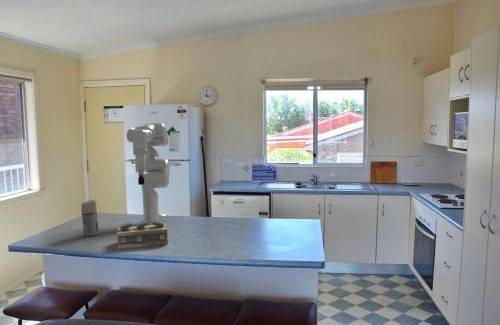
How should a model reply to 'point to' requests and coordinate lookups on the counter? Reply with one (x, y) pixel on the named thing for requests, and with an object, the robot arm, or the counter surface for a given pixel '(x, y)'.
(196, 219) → the counter surface
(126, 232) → the switch unit
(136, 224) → the rocker middle
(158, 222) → the rocker right
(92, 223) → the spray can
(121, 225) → the rocker left
